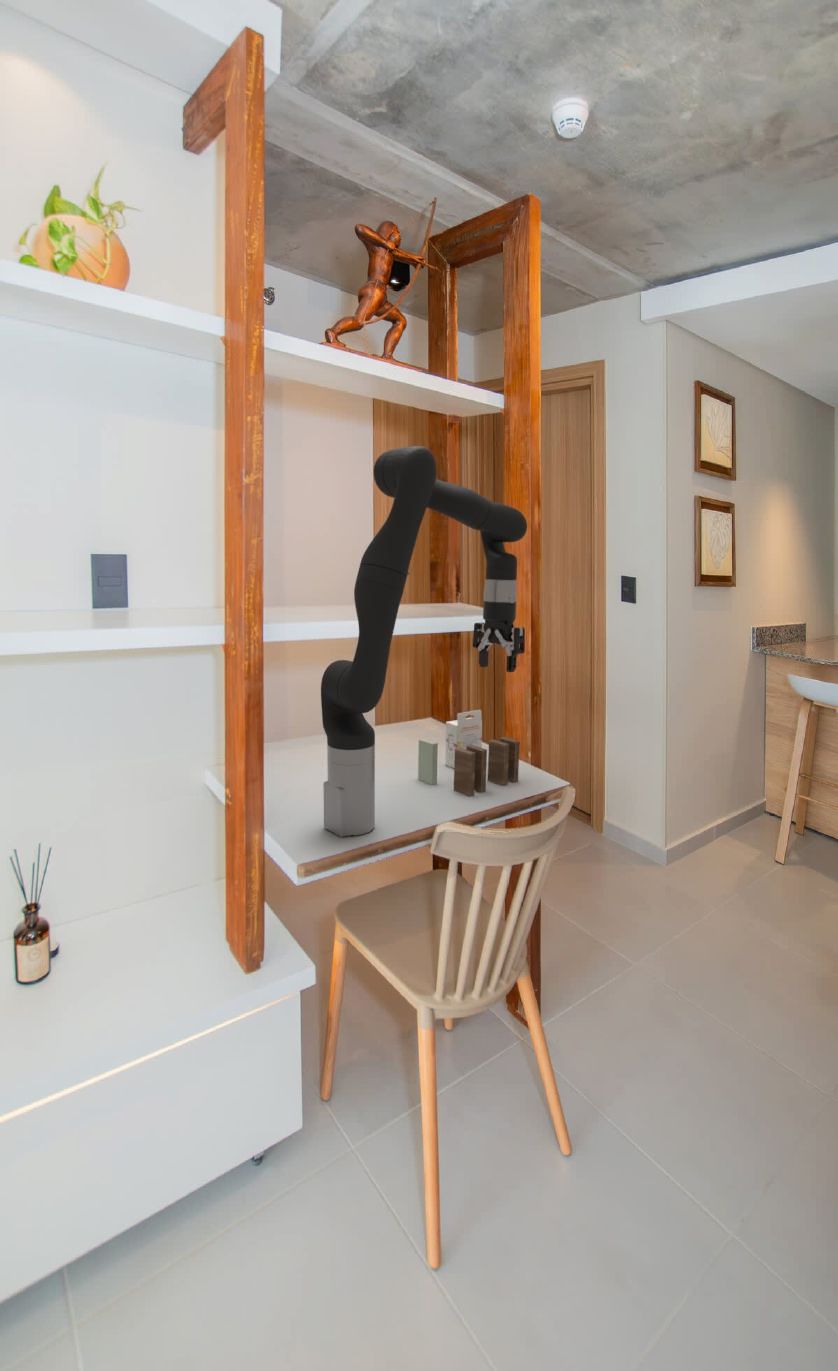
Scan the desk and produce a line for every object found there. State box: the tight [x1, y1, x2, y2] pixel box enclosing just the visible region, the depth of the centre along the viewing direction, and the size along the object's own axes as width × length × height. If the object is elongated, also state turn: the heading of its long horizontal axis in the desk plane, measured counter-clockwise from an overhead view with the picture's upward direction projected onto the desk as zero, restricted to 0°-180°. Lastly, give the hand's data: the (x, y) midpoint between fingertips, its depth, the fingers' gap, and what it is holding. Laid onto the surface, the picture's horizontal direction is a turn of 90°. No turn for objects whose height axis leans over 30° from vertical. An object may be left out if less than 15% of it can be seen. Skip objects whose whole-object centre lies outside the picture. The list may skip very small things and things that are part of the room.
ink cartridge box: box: [445, 709, 483, 769], centre depth 171 cm, size 9×5×15 cm, turn 126°
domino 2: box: [466, 745, 488, 793], centre depth 153 cm, size 2×5×10 cm, turn 41°
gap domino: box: [417, 738, 439, 785], centre depth 158 cm, size 2×5×10 cm, turn 41°
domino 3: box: [487, 739, 509, 786], centre depth 158 cm, size 2×5×10 cm, turn 41°
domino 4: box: [499, 736, 521, 783], centre depth 160 cm, size 2×5×10 cm, turn 41°
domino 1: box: [453, 748, 475, 797], centre depth 151 cm, size 2×5×10 cm, turn 41°
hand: (496, 669), depth 155 cm, fingers open, 8 cm apart
